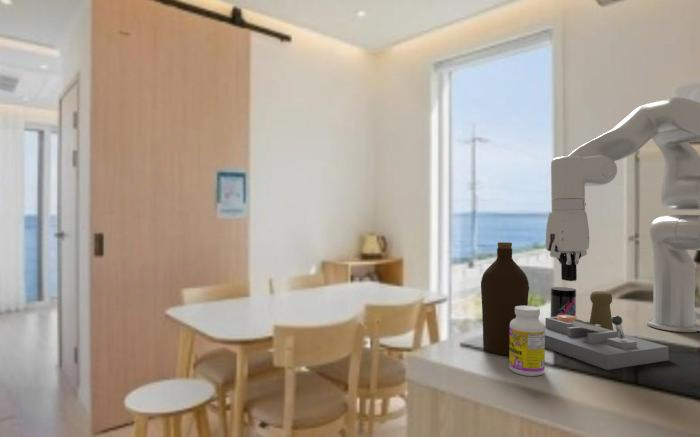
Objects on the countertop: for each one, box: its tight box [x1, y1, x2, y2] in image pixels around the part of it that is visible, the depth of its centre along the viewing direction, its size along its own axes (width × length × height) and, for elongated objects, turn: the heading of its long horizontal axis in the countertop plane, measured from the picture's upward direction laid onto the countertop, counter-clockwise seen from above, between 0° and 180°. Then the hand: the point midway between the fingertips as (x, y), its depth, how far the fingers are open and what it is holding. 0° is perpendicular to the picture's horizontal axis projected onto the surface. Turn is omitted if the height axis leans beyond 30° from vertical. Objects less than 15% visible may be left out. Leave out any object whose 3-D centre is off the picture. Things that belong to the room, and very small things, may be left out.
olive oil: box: [480, 241, 530, 356], centre depth 108 cm, size 11×11×25 cm
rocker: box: [573, 320, 612, 332], centre depth 107 cm, size 9×4×1 cm, turn 111°
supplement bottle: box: [508, 305, 546, 377], centre depth 93 cm, size 7×7×13 cm
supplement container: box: [550, 286, 577, 317], centre depth 133 cm, size 7×7×10 cm
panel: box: [544, 316, 670, 371], centre depth 108 cm, size 18×24×6 cm
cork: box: [589, 290, 614, 331], centre depth 124 cm, size 6×6×11 cm
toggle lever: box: [612, 315, 625, 339], centre depth 101 cm, size 2×2×5 cm
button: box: [557, 315, 578, 323], centre depth 115 cm, size 4×4×3 cm
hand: (569, 280), depth 115 cm, fingers closed
